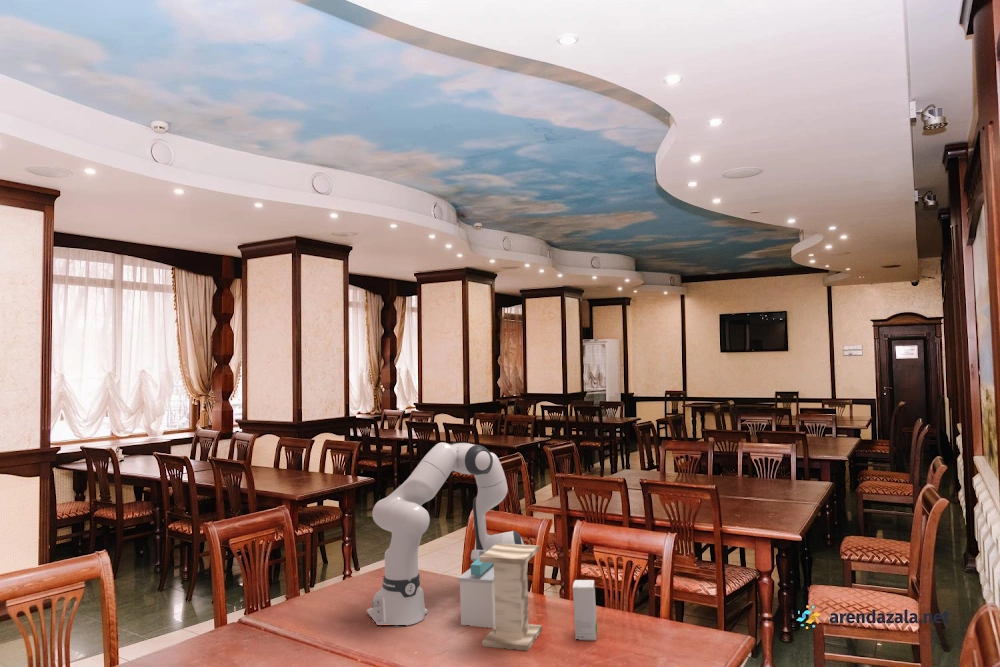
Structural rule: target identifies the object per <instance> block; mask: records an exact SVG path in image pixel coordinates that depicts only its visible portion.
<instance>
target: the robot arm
mask: <svg viewBox="0 0 1000 667" xmlns="http://www.w3.org/2000/svg"><path fill="white" fill-rule="evenodd" d="M452 472H453V473H454V472H455V473H456V472H457V473H460V474H463V475H473V476H474V478H475V482H476V486H477V494H476V496H475V497H474V499H473V502H472V503H473V504H472V511H473V514H472V515H473V525H474V533H475V534H474V536H475V549H472V551H471V554H470V561H472V563H473V562H474V561H476V560H477V559H478V558H479V557H480V556H481V555H483V554H484V553H485V552H486V551H488V550H489V549H490V548H491V547H492V546H493V545H495V544H497V543H500V544H519V545H526V543H525V540H524V539H523V537H522V535H521V534H520V533H519V532H518V531H516V530H511V531H505V532H500V533H495V534H488V532H487V523H486V522H487V521H486V515H487V513H488V512H489V511H491V509H494V507H497V506H498V505H499V504H500V503H502V502H503V501H504V499H506V496H507V494H508V492H509V488H508V483H507V478H506V475H505V472H504V469H503V466H502V464H501V462H500V459H499V457H498V456H497V454H495V453H494V452H492V451H491V452H490V450H489V449H487V448H486V447H485V446H483V445H481V444H474V443H473V444H472V443H469V442H453V443H447V442H439V443H436V444H435V445H434V446H433V447H432V448H431V449H430V450H429V451H428V452H427V453H426V454H425V455H424V457H423V458H422V459H421V460H420V462H419V463H417V466H416V467H415V468H414V470H413V471H412V472H411V474H410V475H409V476H408V477H407V478H406V480H404V482H403V483H402V484H400V485H399V486H398V487H397V488H396V489H395V490H393V492H391V493H390V494H389V495H388V496H386V497H384V498H382V499H379V500H377V502H376V503H375V504H374V506H373V508H372V514H371V515H372V520H373V522H374V523H375V525H377V526H378V527H379V528H381V530H382V529H383V530H384V531H386V532H387V531H388V532H390V533H391V539H390V543H389V546H388V548H387V549H386V550H385V551H384V575H383V576H382V577H383V578H382V586H381V588H380V589H379V590H378V591H377V592H376V593H375V594H374V596H373V599H372V600H371V607H369V608H367V609H366V612H367V611H368V613H369V614H370V616H371V617H372V618H373V619H374V621H375V622H376V624H379V625H380V624H390V625H406V626H411V625H414V624H415V625H416V624H417V623H419V622H421V621H423V620H424V619H425V616H426V615H425V614H429V610H428V608H426V606H425V598H424V597H425V596H424V590H423V588H422V587H421V586H420V584H421V577H420V573H419V547H420V543H421V539H422V537H423V535H424V534H425V533H426V532H427V530H428V529H429V526H430V522H431V519H430V517H431V516H430V514H429V511H428V510H427V509H425V508H424V507H423V504H425V503H427V502H429V501H431V500H432V499H434V497H436V495H437V494H438V492H439V491H440V489H441V488H442V486H443V485H444V484H445V482H447V479H448V478H449V476H450V474H451V473H452ZM528 562H529V561H528ZM528 562H527V565H528ZM493 564H494V563H493ZM372 607H374V608H372ZM370 616H369V617H370ZM374 621H373V622H374ZM376 624H375V625H376Z"/></svg>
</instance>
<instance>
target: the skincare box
mask: <svg viewBox="0 0 1000 667" xmlns="http://www.w3.org/2000/svg"><path fill="white" fill-rule="evenodd" d="M572 600H573V603H572V604H573V618H574V619H573V620H574V632H575V633H574V635H575V636H574V637H575V640H576V639H579V640H578V641H597V635H598V622H597V620H598V619H597V607H596V606H597V605H596V586H595V580H594V579H575V580H574V581H573V583H572Z"/></svg>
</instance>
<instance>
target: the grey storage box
mask: <svg viewBox="0 0 1000 667" xmlns="http://www.w3.org/2000/svg"><path fill="white" fill-rule="evenodd" d="M457 582H459V599H460V600H459V601H460V602H459V604H460V605H459V606H460V607H459V608H460V625H461V626H465V625H470V626H469V627H476V626H477V627H478V628H487V627H488V629H493V628H494V627H495V626H496V618H495V588H494V564H492V565H491V566H490V567H489V568H488V569H487V570H486V571H485V572H483V573H482V574H481V575H471V567H470V568H469V569H467V570H466V571H465V572H464V573H462V574H461V575H460V576H459V577H458V576H457ZM477 627H476V628H477Z"/></svg>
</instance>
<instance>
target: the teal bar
mask: <svg viewBox="0 0 1000 667" xmlns="http://www.w3.org/2000/svg"><path fill="white" fill-rule="evenodd" d="M493 546H494V545H493ZM493 546H492V547H493ZM492 547H491V548H492ZM492 564H493V563H488V562H480V558H478V559H477V560H476V561H474V562H473V561H472V563H471V564H470V568H471V575H481V574H482V573H483V572H485V571H486V570H487V569H488V568H489V567H490V566H491V565H492Z"/></svg>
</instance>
